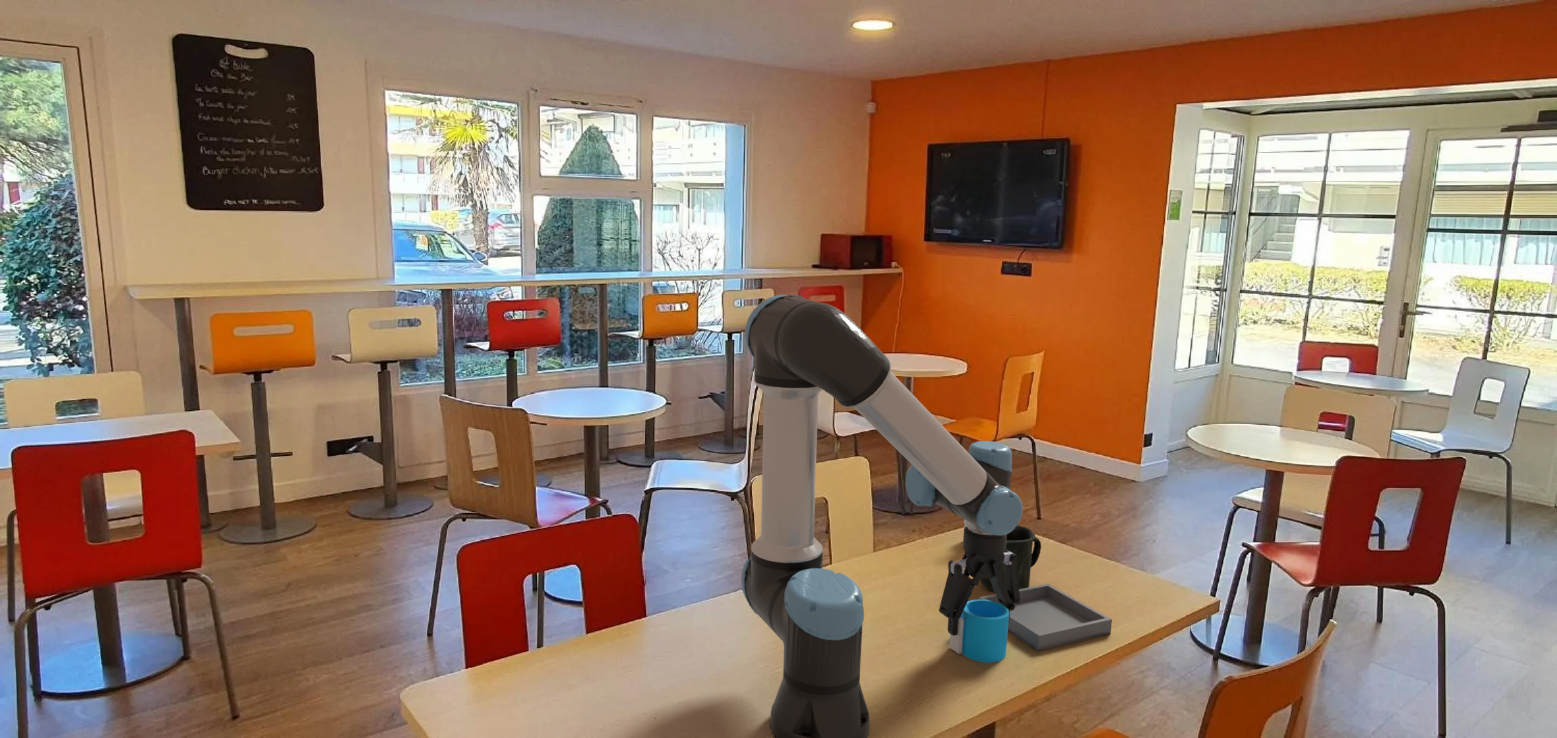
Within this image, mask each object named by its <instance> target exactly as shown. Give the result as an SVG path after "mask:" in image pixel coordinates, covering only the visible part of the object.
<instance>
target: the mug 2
mask: <svg viewBox="0 0 1557 738" xmlns="http://www.w3.org/2000/svg"><path fill="white" fill-rule="evenodd" d="M1041 549H1042V543H1041V540H1040V539H1039V538H1038V537H1036V533H1035V532H1034V531H1033V530H1031V529H1030V528H1027V527H1025V526H1021V525H1019V524H1017V526H1016V527H1015V529H1014V530H1013V531H1011V532H1010V533H1008V534H1007V539H1006V549H1005V551H1006V550H1008V551H1010V552H1012V553H1014V554H1015V555H1017V556H1018V558H1017V564H1016V570H1017V578H1018V586H1019V589H1024V588H1029V587H1030V581H1031V568H1033V567H1034V565H1035V564H1036V563H1037V562H1038V560H1039V557H1040V554H1041ZM1005 551H1004V552H1005ZM1004 552H1003V553H1004ZM1002 563H1003V562H1002ZM1000 571H1001V573H1002V576H1003V578H1002V579H1003V582H1004V584H1005V581H1004V573H1003V565H1002V564H1001V566H1000ZM979 583H980V585H981V586H982V587H983V588H984V589H986V590H988V591H989V592H993V593H995V591H994V589H993V586H992V584H991V581H990V579H989V578H985V579H983V580H980V581H979Z"/></svg>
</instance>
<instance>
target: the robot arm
mask: <svg viewBox="0 0 1557 738" xmlns="http://www.w3.org/2000/svg"><path fill="white" fill-rule="evenodd" d="M744 341H745V343H746V347H747V349H748V351H749V354H750V355H751V356H752V357H753V358H754V367H753V369H754V370H753V371H754V375H753V377H754V380H753V383H754V384H755V385H756V386H757V387H758V388H759V389H760V391H762V393H763V414H762V415H763V416H762V418H763V420H762V425H763V426H762V470H761V471H762V472H761V475H762V476H761V478H762V479H761V515H760V516H761V517H760V519H761V520H760V521H761V524H760V527H761V528H760V529H761V530H760V536H759V537H758V538H757V539H755V540H754V541H753V542H752V543H751V549H750V550H751V552H750V553H751V554H750V557H749V558H748V559H746V561H745V562H744V565H743V567H742V570H741V571H742V572H741V576H740V577H741V578H740V582H741V589H742V593H743V596H744V598H745V599H746V601H747V603H748V606H749V607H750V608H751V610H752V611H753V613H754V614H756V615H757V616H758V617H759V618H761V620H762V621H763V622H764V623H765V624H766V625H767V626H768V627H769V628H770V630H772V631H773V633H775V635H776V636H777V637H778V638H779V639H780V640H781V641H782V644H783V673H782V679H781V683H780V685H779V688H778V689H777V690H778V691H777V693H776V696H775V699H774V701H773V703H772V706H771V709H770V720H769V721H770V724H769V725H770V726H771V728H770V731H771V730H772V731H771V734H772V735H773V734H774V735H773V737H774V736H776V738H868V737H869V735H870V733H869V732H870V714H869V713H870V712H869V710H868V709H869V708H868V705H867V701H866V699H865V696H864V693H863V689H862V686H861V681H860V680H861V663H862V661H861V659H862V642H863V641H862V640H863V626H864V625H863V623H864V618H865V610H864V608H865V607H864V597H863V593H862V591H861V589H860V588H861V587H859V585H858V584H857V582H855V580H853V579H852V578H851V577H849V576H847V575H846V574H844V573H842V572H837V573H836V572H835V571H834V570H832V569H828V568H827V569H826V568H823V555H824V554H823V553H824V552H823V551H824V549H823V545H822V544H821V542H819V541H818V540H817V539H816V538H815V536H814V535H815V510H816V509H815V505H816V474H817V473H816V472H817V449H818V448H817V443H818V441H817V440H818V439H817V438H818V411H819V410H818V409H819V394H820V393H821V392H822V391H824V392H826V393H827V394H829V395H830V396H831V397H833V399H835V400H836V401H837V402H838V403H839V404H840V405H841V406H842V407H844V408H847V409H851V408H854V409H855V410H856V411H857V412H858V413H859V414H860V415H861V416H862V417H863V418H864V419H865V420H866V421H867V422H868V423H869V424H870V425H871V426H872V427H873V428H874V429H875V430H877V432H878V433H879V434H880V435H881V436H882V437H883V438H884V439H886V441H887V442H888V443H889V444H890V445H892V447H894V449H896V450H897V452H898V453H900V454H901V455H902V456H903V457H904V458H905V459H906V460H907V461H908V462H909V463H910V466H909V468H908V469H907V470H906V474H905V484H904V485H905V489H906V494H907V496H908V498H909V500H910V501H911V502H912V503H913V504H914V505H915V506H918V507H932V506H939V507H940V508H943V509H945V510H947V511H948V512H950V513H951V514H954V515H956V516H958V517H960V518H962V519H964V520H963V524H964V526H965V525H966V527H965V528H964V527H963V537H962V539H963V540H962V546H963V551H964V553H963V556H962V558H961V559H960V560H957V561H954V560H949V561H948V563H947V567H948V568H947V569H948V570H947V571H948V574H947V578H946V580H945V585H944V589H943V593H942V595H941V599H940V600H941V601H940V604H939V609H938V612H939V613H940V614H941V615H943V616H944V617H945V618H947V619H948V620H947V633H948V634H949V645H948V646H949V648H950V649H951V650H953V652H955V653H956V654H958V655H960V654H962V642H963V627H964V619H963V618H961V615H962V612H963V610H964V608H965V606H966V604H967V602H968V601H970V600H969V599H970V597H971V595H972V593H973V590H974V589H975V587H977V586H978V585H979V583H980V580H983V579H985V578H989V579H990V581H991V584H992V586H993V589H994V591H995V592H994V594H996V596H997V599H998V601H999V603H1000V604H1002V605H1003V606H1005V607H1006V608H1007V609H1008V610H1009V618H1010V610H1011V611H1012V610H1014V609H1015V605H1013V604H1015V603H1016V604H1018V603H1019V602H1020V593H1019V586H1018V578H1017V570H1016V564H1017V558H1018V556H1017V555H1015V554H1014V553H1012V552H1010V551H1008V550H1006V551H1005V549H1006V539H1007V534H1008V533H1010V532H1011V531H1013V530H1014V529H1015V527H1016V526H1017V525H1019V524H1020V522H1021V520H1022V517H1023V511H1024V508H1023V503H1022V500H1021V498H1020V496H1019V495H1018V494H1017V493H1016V492H1014V491H1012V490H1011V482H1012V475H1013V474H1012V473H1013V452H1012V449H1011V448H1010V447H1009V446H1008V445H1007V444H1004V443H1001V442H997V441H990V440H980V441H976V442H973V443H971V444H970V445H969V447H968V451H967V450H966V449H965V448H964V447H963V445H961V444H960V443H959V441H958V440H957V439H956V438H955V437H954V436H953V435H952V434H951V432H949V431H948V430H947V429H946V428H945V427H944V426H943V425H942V423H941V422H940V421H939V420H938V419H937V418H936V417H935V416H934V414H932V413H931V412H930V411H929V410H928V409H927V408H926V406H925V405H924V404H923V403H922V402H921V401H919V400H918V398H917V397H916V396H915V395H914V394H913V393H912V392H911V391H910V390H909V389H908V388H907V386H905V385H904V383H903V382H902V381H901V380H899V378H898V377H897V376H896V375H895V374H894V373H893V372H892V362H891V360H890V359H889V358H888V357H887V356H886V354H885V353H883V351H881V349H880V348H879V347H878V346H877V345H876V344H875V343H874V342H873V340H872V339H871V338H870V337H869V336H867V334H866V333H865V332H864V331H863V330H862V329H861V328H860V327H859V326H858V324H856V322H854V321H853V319H851V318H850V317H849V316H848V315H847V314H846V313H844V312H843V311H842V310H840V309H839V308H837V307H835V306H834V305H831V304H828V303H824V302H820V301H819V302H818V301H816V300H815V301H814V300H811V299H808V298H805V297H804V296H801V295H792V294H777V295H773V296H771V297H767V298H766V299H764V300H763V301H760V303H759V304H758V305H757V306H756V307H755V308H753V310H752V311H751V313H750V315H749V316H748V318H747V321H746V324H745V328H744ZM1004 551H1005V552H1004ZM1003 552H1004V553H1003ZM1002 562H1003V563H1002ZM1001 564H1002V565H1003V573H1004V581H1005V584H1004V582H1003V579H1002V578H1003V576H1002V573H1001V571H1000V566H1001ZM971 577H972V578H971ZM1008 623H1009V621H1008ZM770 726H769V727H770Z"/></svg>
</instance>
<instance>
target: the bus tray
mask: <svg viewBox="0 0 1557 738" xmlns="http://www.w3.org/2000/svg"><path fill="white" fill-rule="evenodd" d="M1019 593H1020V602H1019V603H1018V604H1016V603H1015V604H1013V605H1015V609H1014V610H1012V611H1011V610H1010V618H1009V623H1008V633H1010V634H1011V635H1013V636H1014V637H1016V638H1017V639H1019V640H1020V641H1022V642H1024V643H1025V644H1026V645H1027V646H1030V647H1031V648H1032V649H1035V650H1036V651H1037V652H1040V651H1045V650H1049V649H1052V648H1053V649H1054V648H1058V647H1061V646H1064V645H1065V646H1066V645H1069V644H1074V643H1078V642H1083V641H1086V640H1091V639H1096V638H1099V637H1104V636H1108V635H1111V634H1112V622H1113V619H1112V618H1111V617H1109V616H1108V615H1105V614H1103V613H1101V612H1100V611H1098V610H1096V609H1094V608H1092V607H1091V606H1089V605H1087V604H1086V603H1083V602H1082V601H1080V600H1078V599H1076V598H1074V597H1073V596H1071V595H1070V594H1068V593H1065V592H1064V591H1062V590H1060V589H1058V588H1057V587H1055V586H1052V585H1051V584H1050V583H1044V584H1040V585H1034V586H1029V588H1024V589H1019ZM978 600H989V601H994V602H997V603H999V601H998V599H997V596H996V594H995V593H994V594H988V595H983V596H980V597H978Z"/></svg>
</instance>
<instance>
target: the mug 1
mask: <svg viewBox="0 0 1557 738" xmlns="http://www.w3.org/2000/svg"><path fill="white" fill-rule="evenodd" d="M961 618H963V619H964V627H963V642H962V653H961V654H962V655H963V656H964V657H966V659H967V658H968V659H970V660H973V661H975V662H980V663H997V662H1000V661H1002V660H1004V659H1005V657H1006V655H1007V644H1008V633H1009V632H1008V621H1009V610H1008V609H1007V608H1006V607H1005V606H1003V605H1002V604H1000V603H997V602H994V601H989V600H979V599H971V600H968V602H967V604H966V606H965V608H964V610H963V612H962V615H961Z"/></svg>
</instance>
